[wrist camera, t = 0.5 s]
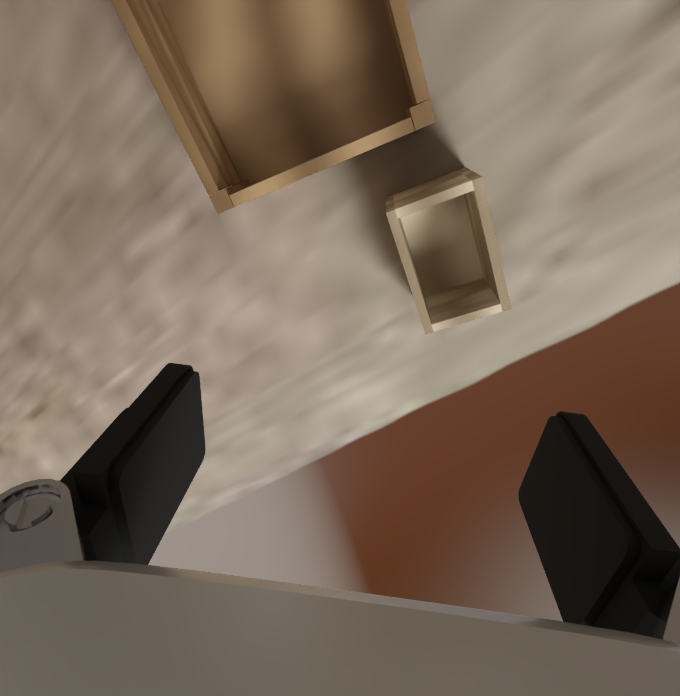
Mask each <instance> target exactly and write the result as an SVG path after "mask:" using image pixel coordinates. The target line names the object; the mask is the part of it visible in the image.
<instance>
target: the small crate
mask: <svg viewBox="0 0 680 696" xmlns="http://www.w3.org/2000/svg"><path fill="white" fill-rule="evenodd" d="M386 215H387V218H388V221H389V224H390V228H391V231H392V234H393V237H394V240H395V243H396V246H397V249H398V252H399V255H400V258H401V261H402V264H403V267H404V270H405V273H406V276H407V279H408V282H409V285H410V288H411V291H412V294H413V298H414V301H415V304H416V307H417V310H418V313H419V316H420V319H421V322H422V325H423V328H424V331H425V334H428V333H431V332H434V331H438V330H441V329H445V328H448V327H451V326H455V325H458V324H462V323H465V322H468V321H472V320H475V319H479V318H482V317H485V316H489V315H492V314H496V313H499V312H502V311H506V310H509V309H511V305H510V300H509V296H508V291H507V287H506V282H505V278H504V273H503V269H502V264H501V260H500V255H499V251H498V246H497V242H496V237H495V233H494V228H493V224H492V219H491V215H490V210H489V206H488V201H487V197H486V192H485V187H484V183H483V178H482V176H480V175H478V174H477V173H475V172H473V171H471V170H469V169H468V168H466V167H464V168H461V169H459V170H456V171H453V172H451V173H448V174H446V175H443V176H441V177H438V178H435V179H433V180H430V181H428V182H425V183H422V184H420V185H417V186H415V187H412V188H410V189H407V190H404V191H402V192H399V193H397V194H394V195H392V196H389V197H386Z"/></svg>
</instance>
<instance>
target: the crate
mask: <svg viewBox="0 0 680 696" xmlns="http://www.w3.org/2000/svg"><path fill="white" fill-rule="evenodd" d="M111 1H112V3H113V5H114V7H115V9H116V11H117V13H118V15H119V17H120V19H121V21H122V23H123V25H124V27H125V29H126V31H127V33H128V35H129V37H130V39H131V41H132V43H133V45H134V47H135V49H136V51H137V53H138V55H139V57H140V59H141V61H142V63H143V65H144V67H145V69H146V71H147V73H148V75H149V77H150V79H151V81H152V83H153V85H154V87H155V89H156V91H157V93H158V95H159V97H160V99H161V101H162V103H163V105H164V107H165V109H166V111H167V113H168V115H169V117H170V119H171V121H172V123H173V125H174V127H175V129H176V131H177V133H178V135H179V137H180V139H181V141H182V143H183V145H184V147H185V149H186V151H187V153H188V155H189V157H190V159H191V161H192V163H193V165H194V167H195V169H196V171H197V173H198V175H199V177H200V179H201V181H202V183H203V185H204V187H205V189H206V191H207V193H208V195H210V194H212V193H214V194H212V195H210V196H209V197H210V199H211V201H212V203H213V205H214V207H215V209H216V211H217V213H218V214H219V213H221V212H224V211H226V210H229V209H231V208H233V207H236V206H238V205H240V204H243V203H245V202H248V201H250V200H252V199H255V198H257V197H259V196H262V195H264V194H266V193H269V192H271V191H274V190H276V189H278V188H281V187H283V186H285V185H288V184H290V183H293V182H295V181H297V180H300V179H302V178H304V177H307V176H309V175H312V174H314V173H316V172H319V171H321V170H323V169H326V168H328V167H330V166H333V165H335V164H338V163H340V162H342V161H345V160H347V159H349V158H352V157H354V156H357V155H359V154H361V153H364V152H366V151H368V150H371V149H373V148H376V147H378V146H380V145H383V144H385V143H387V142H390V141H392V140H395V139H397V138H399V137H402V136H404V135H406V134H409V133H411V132H413V131H416V130H418V129H421V128H423V127H425V126H428V125H430V124H432V123H435V122H436V119H435V115H434V111H433V107H432V104H431V100H430V99H429V98H430V96H429V92H428V88H427V84H426V80H425V76H424V72H423V68H422V64H421V60H420V56H419V52H418V48H417V44H416V40H415V36H414V32H413V29H412V25H411V21H410V17H409V13H408V9H407V5H406V1H405V0H111ZM427 99H429V100H427ZM426 100H427V101H426ZM424 101H425V102H424ZM232 185H233V186H232ZM229 186H231V187H229ZM227 187H228V188H227ZM224 188H226V189H224ZM222 189H224V190H222ZM220 190H221V191H220ZM217 191H219V192H217ZM215 192H217V193H215Z"/></svg>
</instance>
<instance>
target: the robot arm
mask: <svg viewBox="0 0 680 696" xmlns="http://www.w3.org/2000/svg"><path fill="white" fill-rule="evenodd" d="M204 455H205V438H204V426H203V413H202V401H201V389H200V377H199V373H198V372H195V371H193V368H192V366H190V365H182V364H174V363H168V364H167V365H166V366H165V367H164V368H163V369H162V371H161V372H160V373H159V374H158V375H157V376H156V377H155V378H154V380H153V381H152V382H151V383H150V384H149V385H148V386H147V388H146V389H145V390H144V391H143V392H142V393H141V394H140V395H139V397H138V398H137V399H136V400H135V401H134V402H133V403H132V404H131V406H130V407H129V408H126V409H125V410H124V411H122V412H121V414H120V415H119V416H118V417H117V418H116V419H115V420H114V421H113V422H112V424H111V425H110V426H109V427H108V428H107V429H106V430H105V431H104V432H103V434H102V435H101V436H100V437H99V438H98V439H97V440H96V441H95V442H94V444H93V445H92V446H91V447H90V448H89V449H88V450H87V451H86V452H85V454H84V455H83V456H82V457H81V458H80V459H79V460H78V461H77V462H76V464H75V465H74V466H73V467H72V468H71V469H70V470H69V471H68V473H67V474H66V475H65V476H64V477H63V478H62V479H61V480H60V481H57V480H52V479H38V480H34V481H29V482H25V483H22V484H20V485H17V486H15V487H13V488H11V489H9V490H7V491H6V492H4V493H2V494H1V495H0V696H680V548H679V547H678V545H677V544H676V542H675V541H674V540H673V538H672V537H671V535H670V534H669V533H668V531H667V530H666V528H665V527H664V525H663V524H662V523H661V521H660V520H659V518H658V517H657V516H656V514H655V513H654V511H653V510H652V509H651V507H650V506H649V504H648V503H647V501H646V500H645V499H644V497H643V496H642V494H641V493H640V491H639V490H638V489H637V487H636V486H635V484H634V483H633V482H632V480H631V479H630V477H629V476H628V475H627V473H626V472H625V470H624V469H623V467H622V466H621V465H620V463H619V462H618V460H617V459H616V458H615V456H614V455H613V453H612V452H611V451H610V449H609V448H608V446H607V445H606V443H605V442H604V441H603V439H602V438H601V436H600V435H599V434H598V432H597V431H596V429H595V428H594V426H593V425H592V424H591V422H590V421H589V420H588V418H587V417H586V416H585V415H583V414H577V413H570V412H562V411H561V412H558V413H557V414H556V416H551V417H550V418H549V419H548V421H547V424H546V426H545V429H544V431H543V433H542V436H541V438H540V441H539V443H538V446H537V448H536V450H535V453H534V455H533V457H532V460H531V462H530V465H529V467H528V470H527V472H526V475H525V477H524V479H523V482H522V484H521V486H520V489H519V502H520V505H521V508H522V510H523V513H524V516H525V519H526V522H527V524H528V527H529V530H530V532H531V535H532V538H533V540H534V543H535V546H536V548H537V551H538V553H539V557H540V559H541V562H542V565H543V567H544V570H545V573H546V576H547V578H548V581H549V584H550V587H551V589H552V592H553V594H554V597H555V600H556V603H557V605H558V608H559V611H560V614H561V616H562V619H563V622H561V621H555V620H548V619H541V618H534V617H527V616H521V615H513V614H506V613H500V612H493V611H486V610H479V609H472V608H465V607H458V606H451V605H444V604H437V603H430V602H423V601H416V600H408V599H401V598H395V597H387V596H380V595H373V594H366V593H359V592H351V591H344V590H337V589H330V588H323V587H315V586H307V585H301V584H293V583H286V582H277V581H271V580H263V579H255V578H248V577H240V576H233V575H226V574H218V573H211V572H203V571H194V570H185V569H178V568H168V567H160V566H152V565H148V564H149V562H150V560H151V558H152V556H153V554H154V552H155V550H156V548H157V546H158V545H159V543H160V541H161V539H162V537H163V535H164V533H165V531H166V529H167V528H168V526H169V524H170V522H171V520H172V518H173V516H174V514H175V512H176V511H177V509H178V507H179V505H180V503H181V501H182V499H183V497H184V495H185V493H186V492H187V490H188V488H189V486H190V484H191V482H192V480H193V478H194V476H195V474H196V473H197V471H198V469H199V467H200V465H201V463H202V461H203V458H204Z"/></svg>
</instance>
